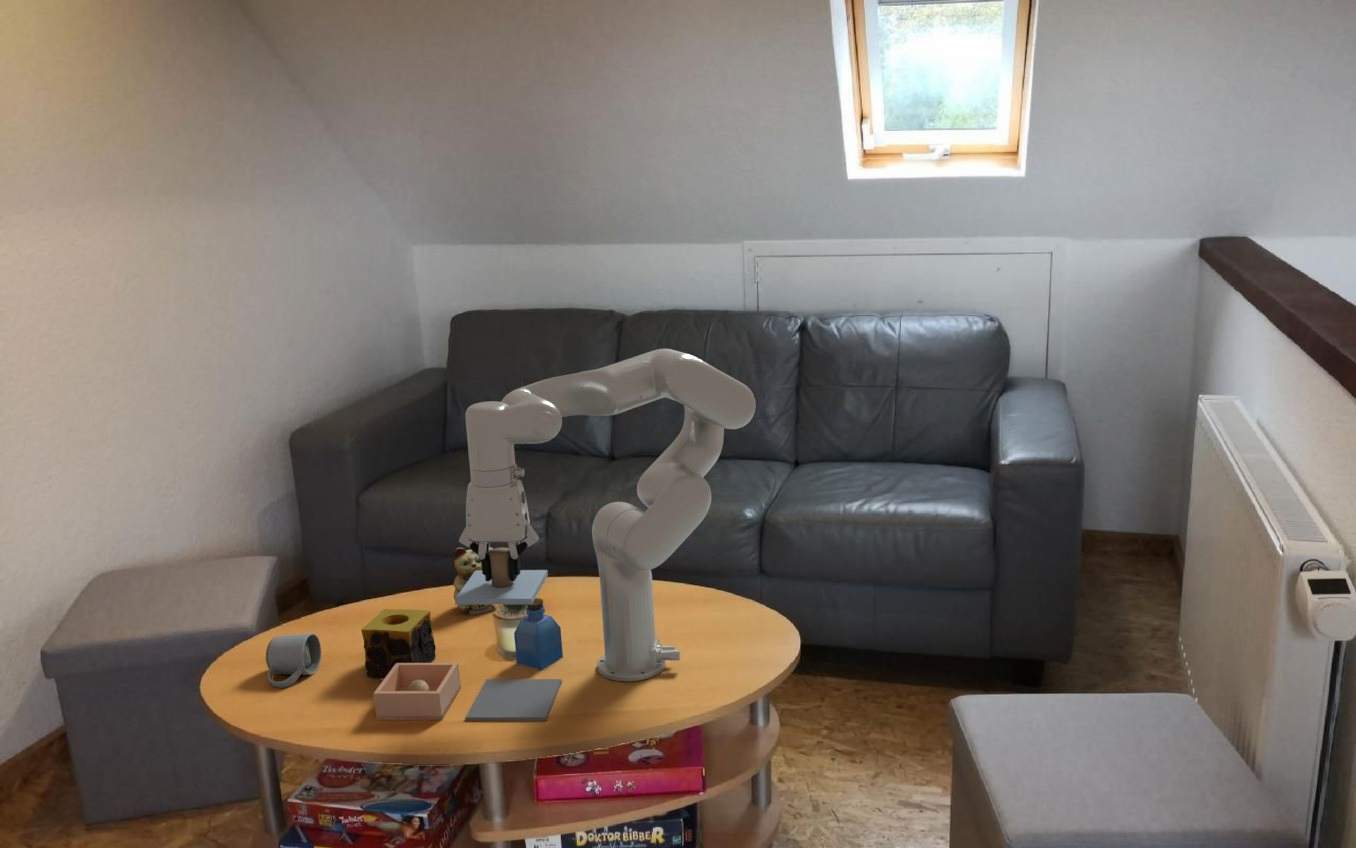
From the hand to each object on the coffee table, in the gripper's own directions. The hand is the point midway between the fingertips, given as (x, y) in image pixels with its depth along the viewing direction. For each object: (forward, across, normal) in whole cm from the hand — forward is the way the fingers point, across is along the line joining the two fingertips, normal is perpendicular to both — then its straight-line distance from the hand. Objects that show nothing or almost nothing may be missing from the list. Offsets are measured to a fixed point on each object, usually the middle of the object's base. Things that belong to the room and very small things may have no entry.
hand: (502, 577), depth 192 cm
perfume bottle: (+23, -1, -16) cm, 29 cm away
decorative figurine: (+23, +18, -41) cm, 51 cm away
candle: (+24, +25, -13) cm, 37 cm away
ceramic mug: (+24, +45, -10) cm, 52 cm away
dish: (+23, +16, +1) cm, 29 cm away
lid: (+2, 0, 0) cm, 2 cm away
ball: (+21, +17, +1) cm, 27 cm away
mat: (+23, 0, 0) cm, 23 cm away
